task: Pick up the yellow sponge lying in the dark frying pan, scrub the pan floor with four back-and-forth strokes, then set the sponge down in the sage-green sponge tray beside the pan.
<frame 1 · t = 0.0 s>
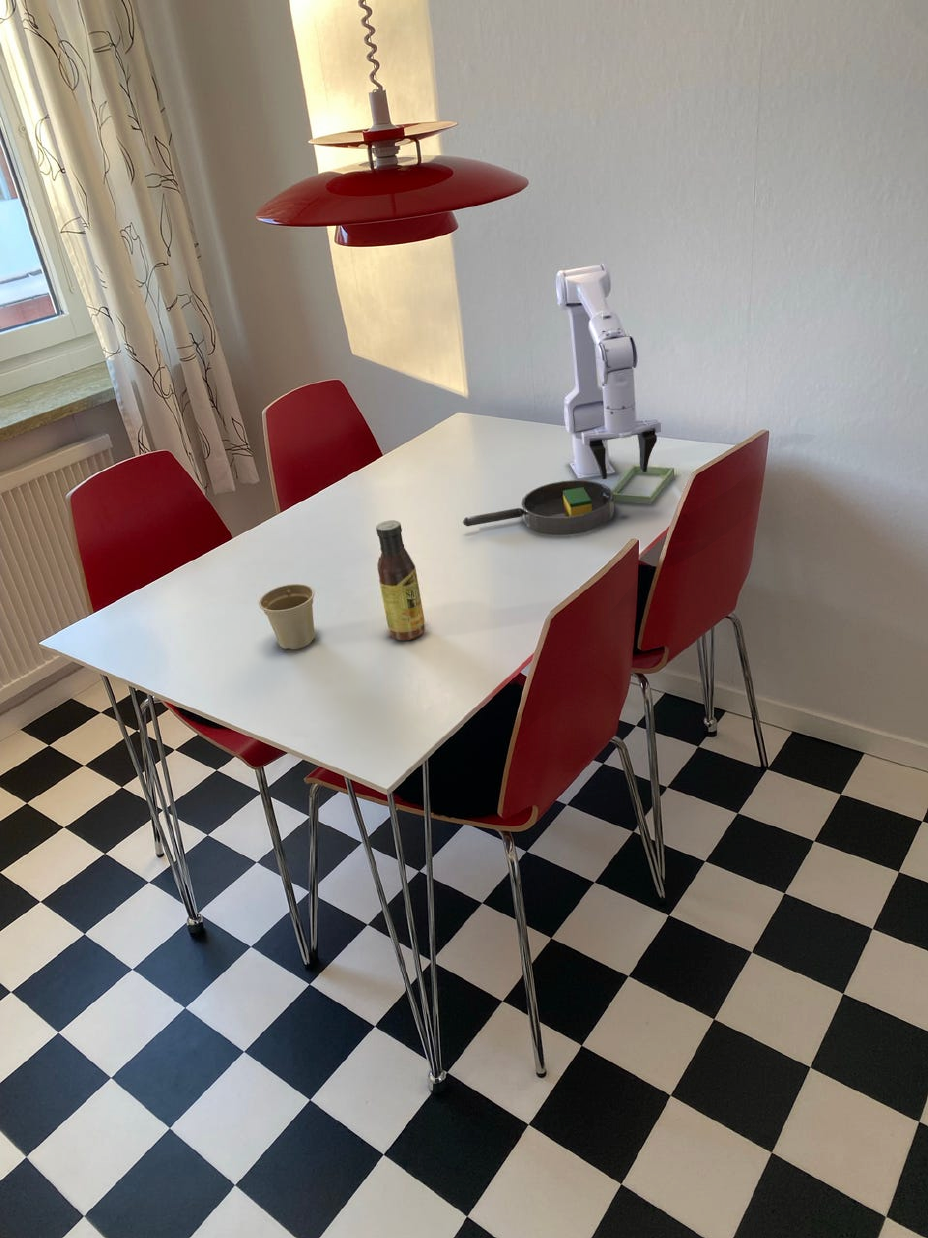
hand: (623, 473, 186), 10 cm above the table, tool pointing down, fingers open, 7 cm apart
sponge tray: (641, 488, 203), on the table
flower pot: (298, 641, 169), on the table
pan handle: (493, 517, 195), point 2 cm above the table
sauce bottle: (408, 633, 166), on the table
sponge: (578, 512, 197), resting on pan
pan: (568, 516, 197), on the table
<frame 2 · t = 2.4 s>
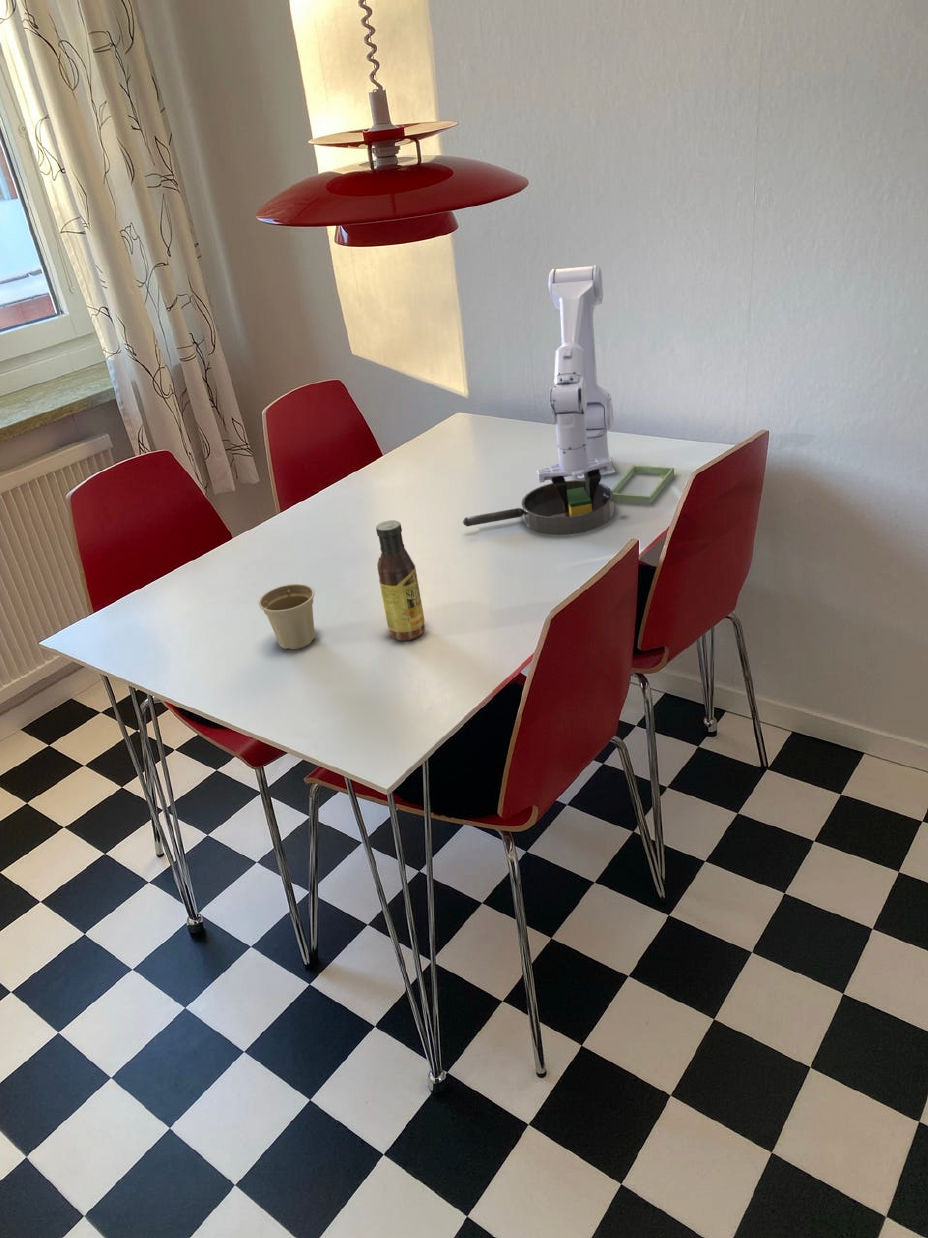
hand: (577, 508, 196), 1 cm above the table, tool pointing down, fingers closed on sponge, 4 cm apart
sponge: (578, 512, 197), point 1 cm above the table, touching gripper, pan
everything else where it was.
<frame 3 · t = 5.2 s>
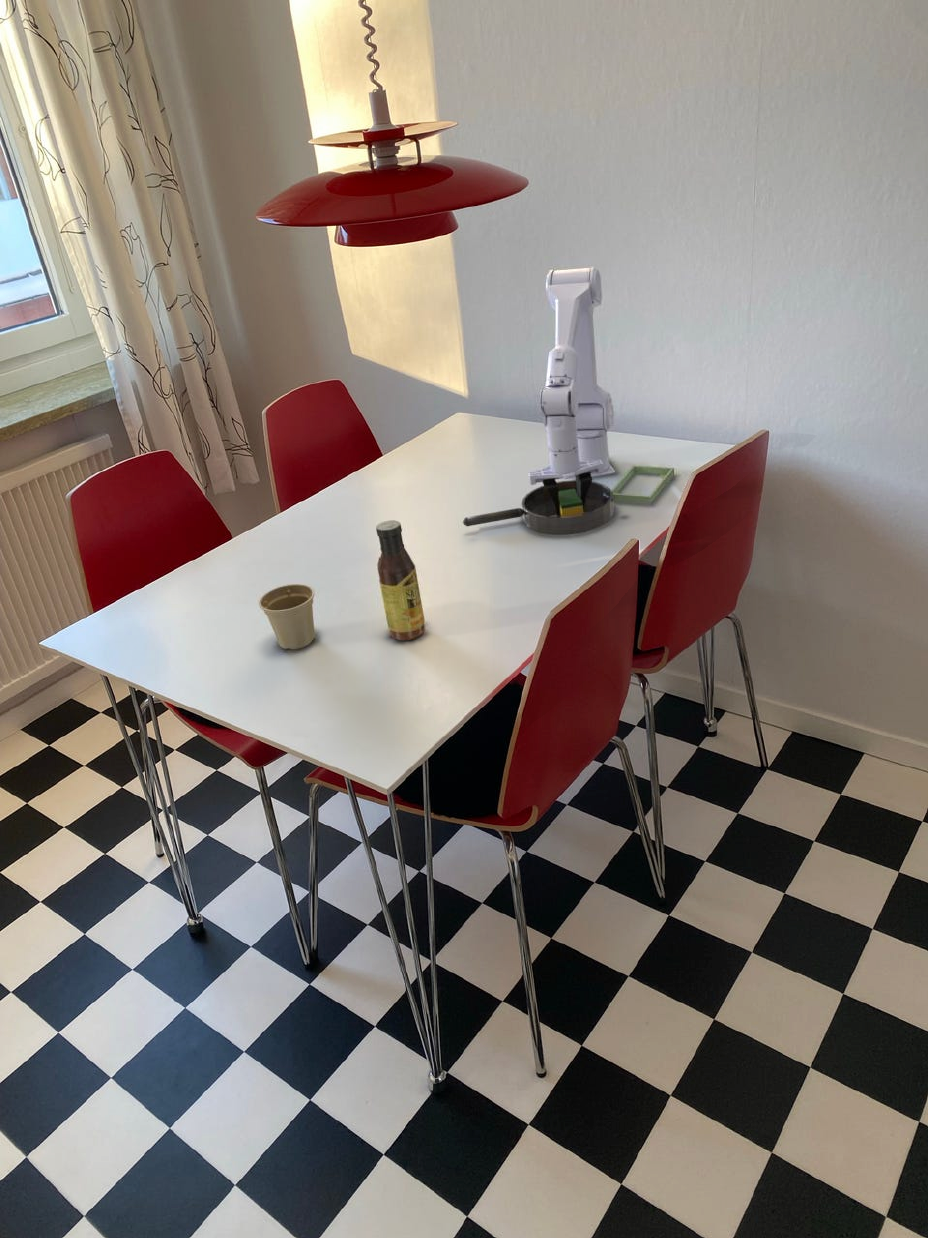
hand: (569, 510, 196), 1 cm above the table, tool pointing down, fingers closed on sponge, 4 cm apart
sponge: (569, 514, 197), point 1 cm above the table, touching gripper, pan
everything else where it was.
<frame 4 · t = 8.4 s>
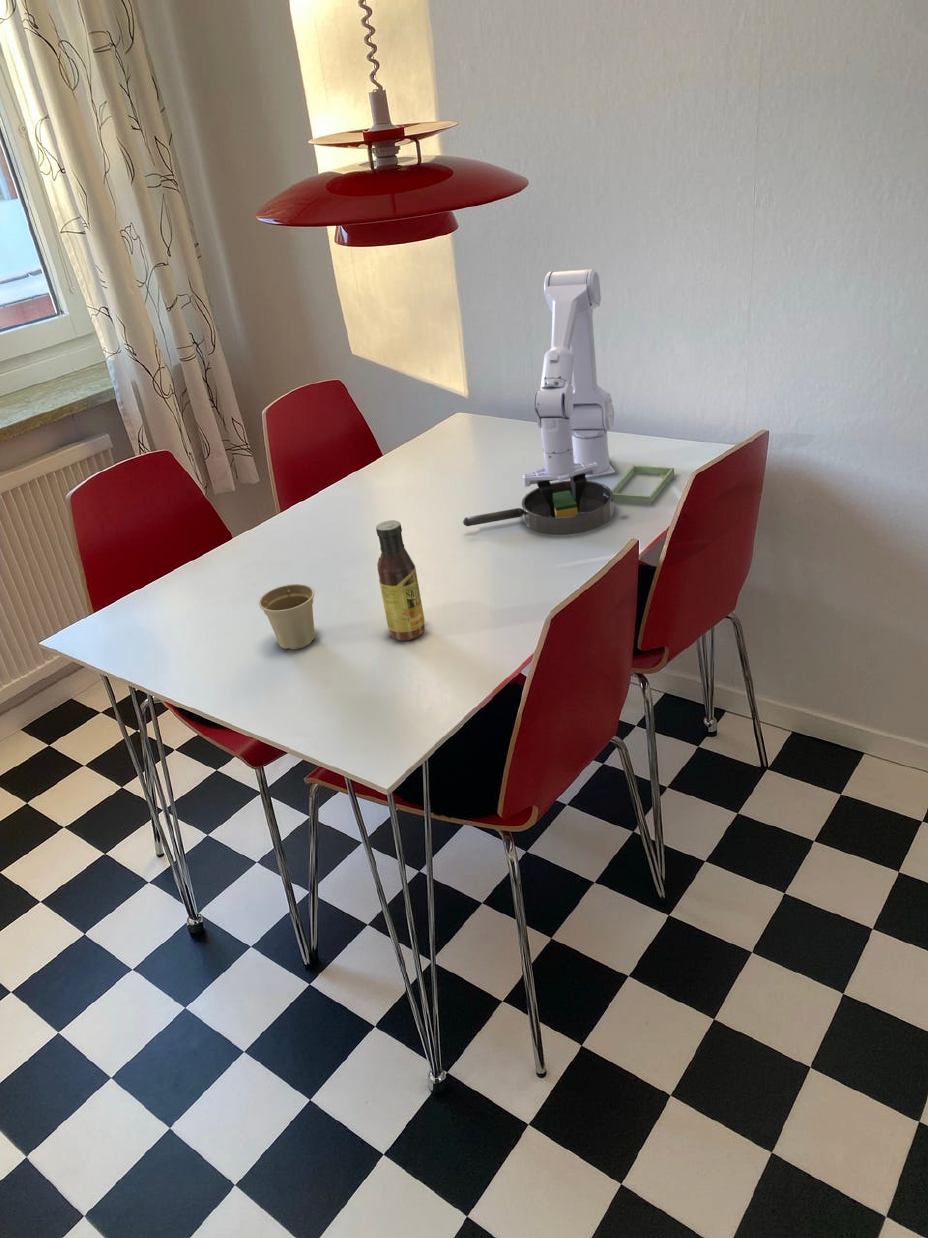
hand: (563, 512, 196), 1 cm above the table, tool pointing down, fingers closed on sponge, 4 cm apart
sponge: (564, 515, 196), resting on pan, touching gripper
everything else where it was.
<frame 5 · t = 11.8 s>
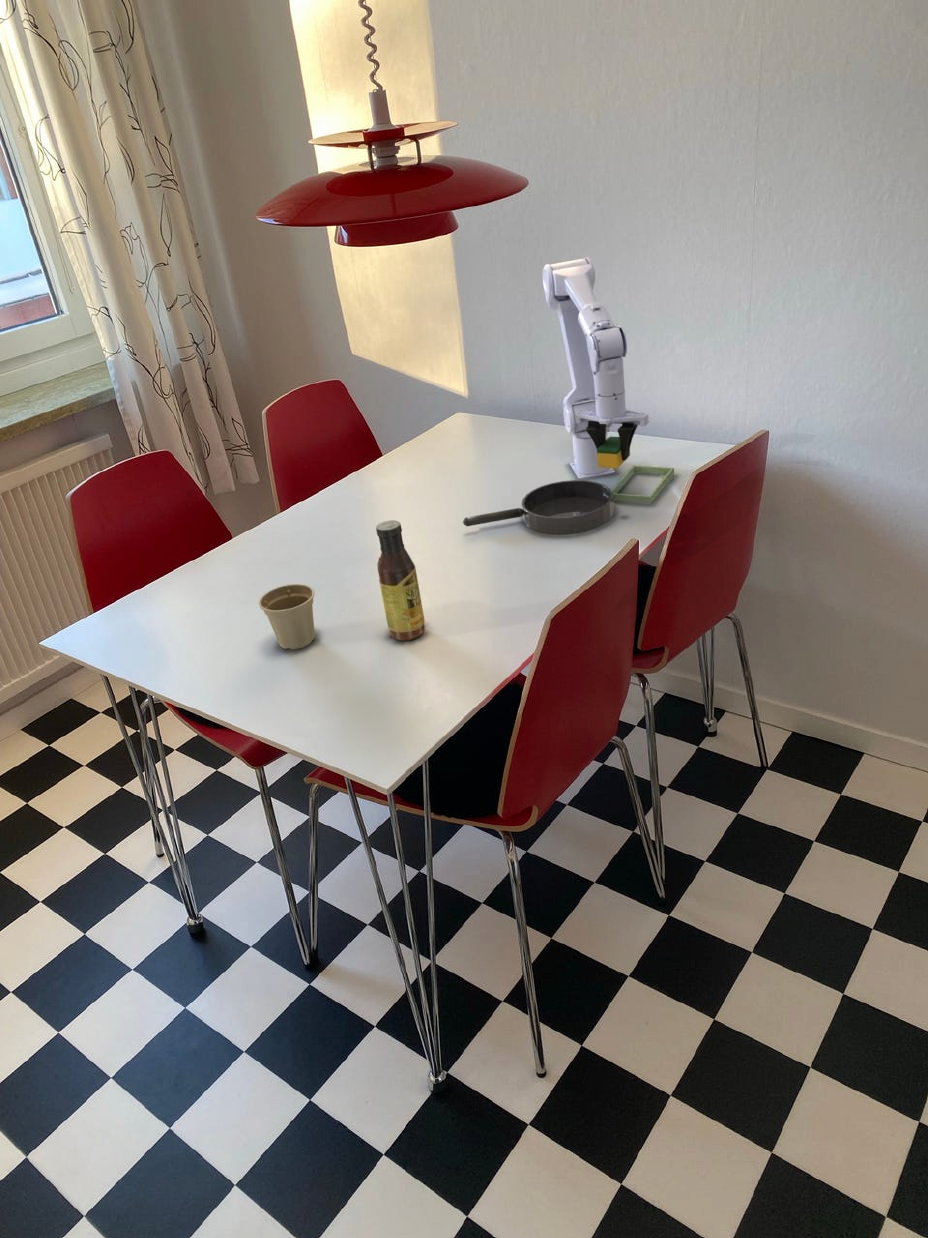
hand: (614, 457, 197), 9 cm above the table, tool pointing down, fingers closed on sponge, 4 cm apart
sponge: (614, 461, 197), point 8 cm above the table, touching gripper
everything else where it was.
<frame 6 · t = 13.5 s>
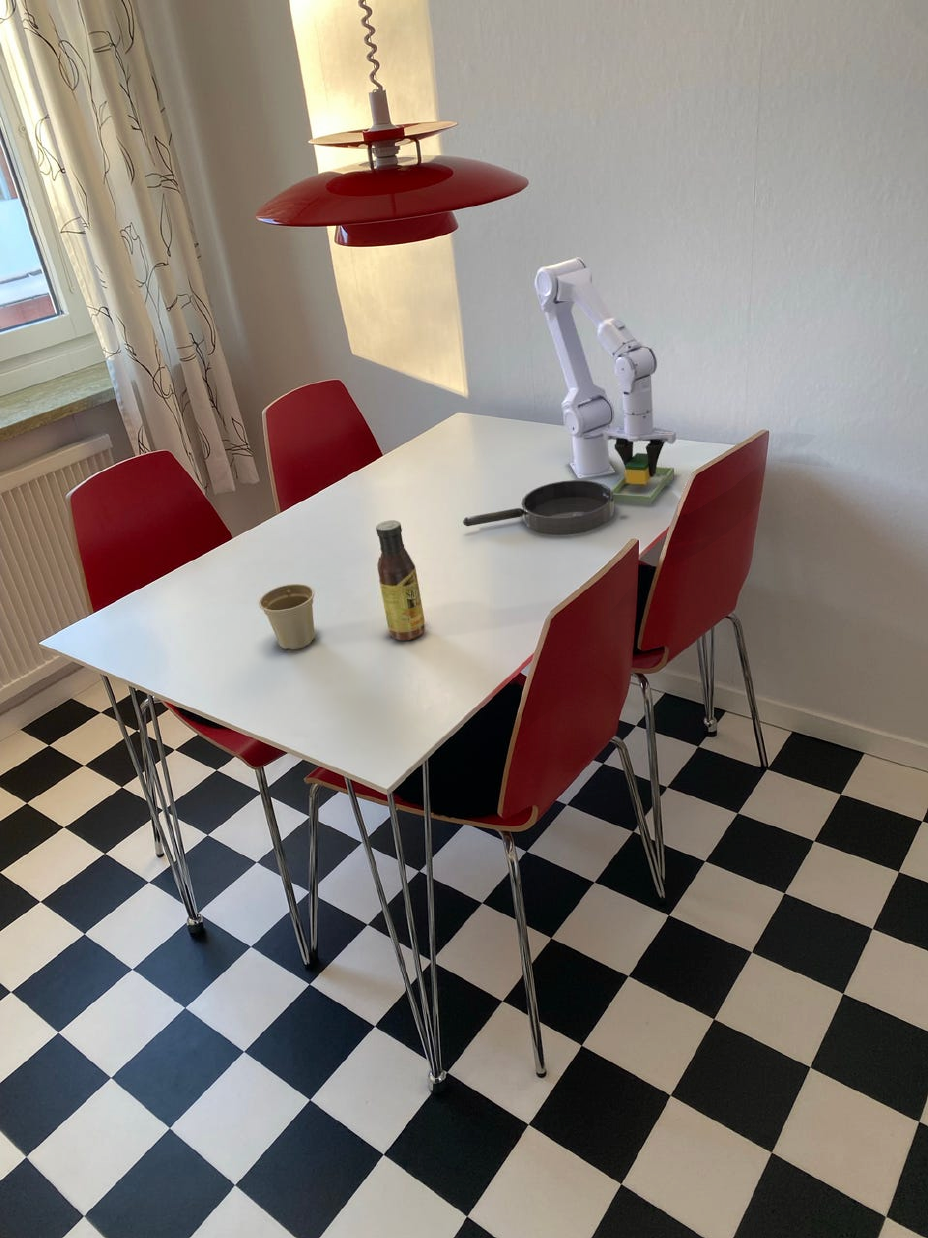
hand: (641, 473, 202), 3 cm above the table, tool pointing down, fingers closed on sponge, 4 cm apart
sponge: (641, 477, 202), point 3 cm above the table, touching gripper
everything else where it was.
when the fingers open (1 cm above the table, at t = 15.0 s): sponge stays where it is, resting on sponge tray.
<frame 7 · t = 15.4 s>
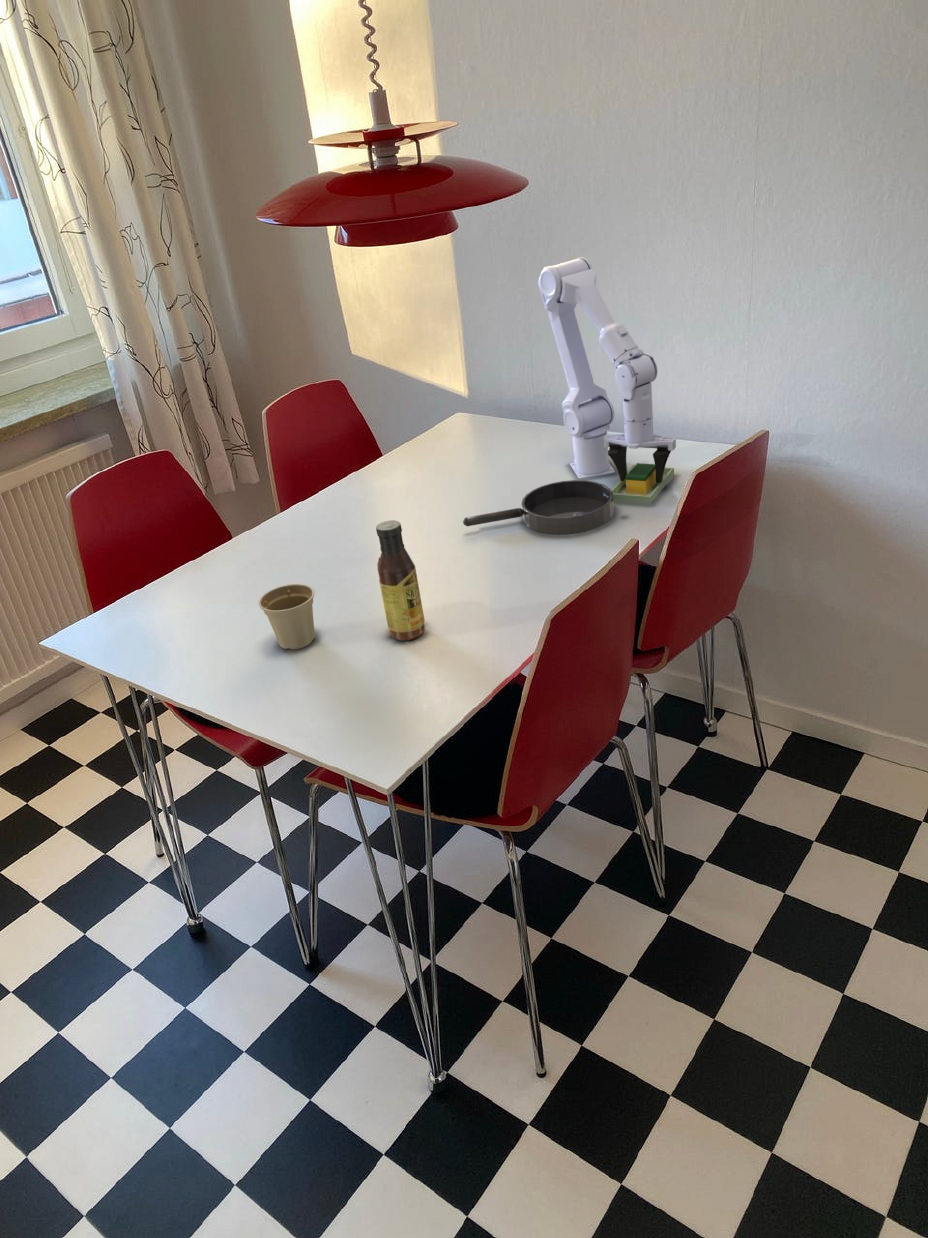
hand: (641, 480, 203), 2 cm above the table, tool pointing down, fingers open, 7 cm apart
sponge: (642, 487, 203), resting on sponge tray
everything else where it was.
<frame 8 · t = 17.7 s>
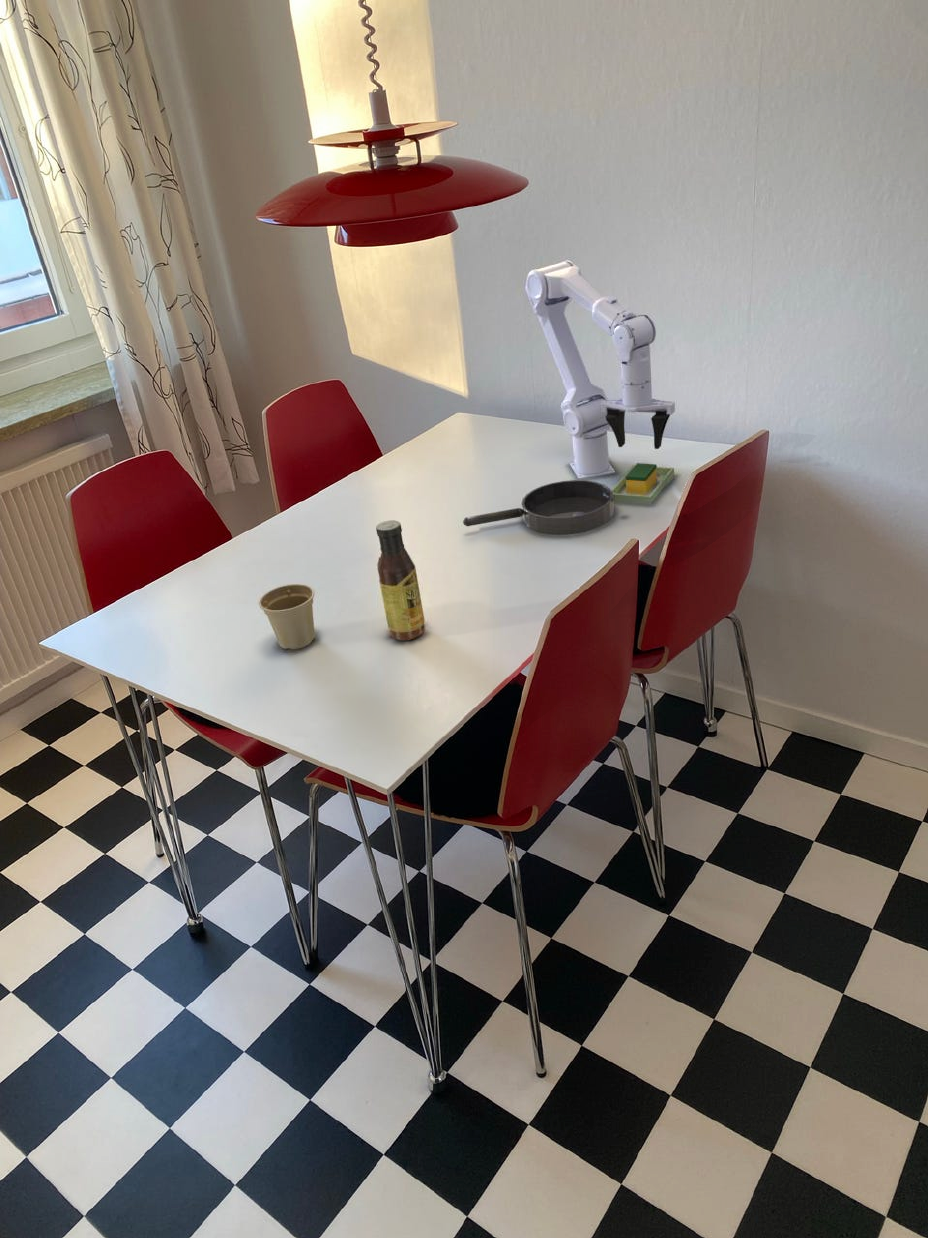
hand: (639, 446, 199), 9 cm above the table, tool pointing down, fingers open, 7 cm apart
nothing on the table moved.
at the end: sponge inside the target area in the sponge tray (0.1 cm from its centre), point 0.4 cm above the sponge tray's base; sponge tilted 0°; the gripper is holding nothing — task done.
